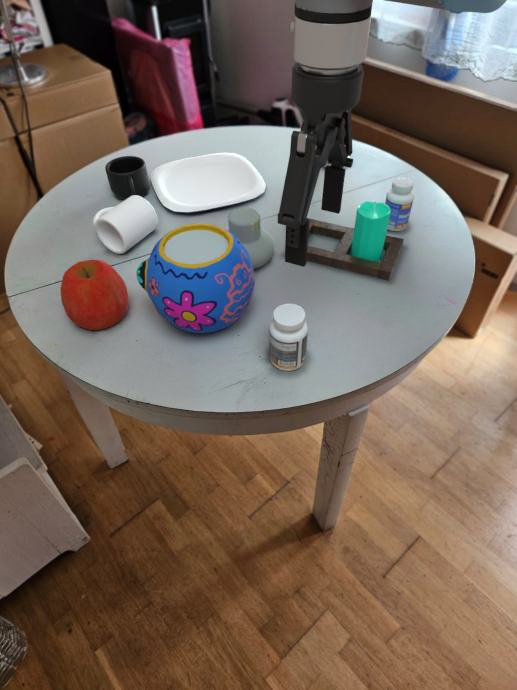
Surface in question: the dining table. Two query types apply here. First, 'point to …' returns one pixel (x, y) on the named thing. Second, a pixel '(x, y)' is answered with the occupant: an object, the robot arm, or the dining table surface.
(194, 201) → the plate
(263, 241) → the air freshener
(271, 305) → the dining table surface
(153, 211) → the mug
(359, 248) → the candle
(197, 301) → the ceramic pot
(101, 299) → the apple
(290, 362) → the pill bottle
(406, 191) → the pill bottle
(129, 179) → the mug
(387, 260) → the holder
